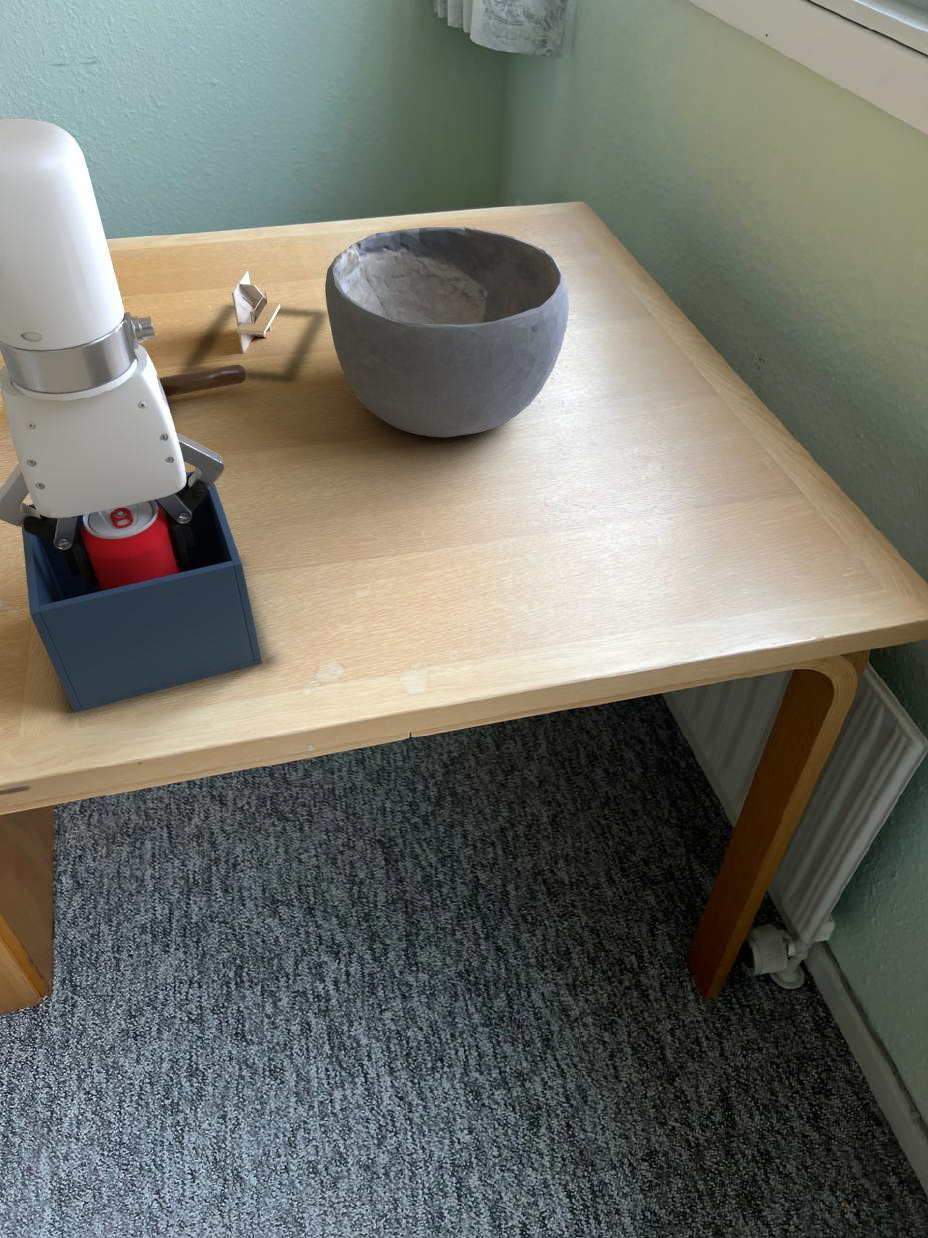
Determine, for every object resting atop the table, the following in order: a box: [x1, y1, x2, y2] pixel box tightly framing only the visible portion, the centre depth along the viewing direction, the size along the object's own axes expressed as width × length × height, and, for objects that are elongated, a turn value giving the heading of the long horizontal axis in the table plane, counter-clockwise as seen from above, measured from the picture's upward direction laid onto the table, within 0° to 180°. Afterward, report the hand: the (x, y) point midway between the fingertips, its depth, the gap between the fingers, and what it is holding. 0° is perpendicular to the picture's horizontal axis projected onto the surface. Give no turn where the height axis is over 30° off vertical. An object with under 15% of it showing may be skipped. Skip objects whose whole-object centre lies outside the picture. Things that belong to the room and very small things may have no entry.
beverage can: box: [81, 500, 183, 591], centre depth 70 cm, size 6×6×12 cm
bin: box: [21, 470, 263, 714], centre depth 71 cm, size 14×12×11 cm
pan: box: [159, 364, 248, 398], centre depth 97 cm, size 20×11×3 cm, turn 112°
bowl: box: [324, 226, 570, 438], centre depth 94 cm, size 24×24×15 cm
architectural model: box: [231, 270, 281, 354], centre depth 105 cm, size 3×7×7 cm, turn 173°
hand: (136, 564), depth 69 cm, fingers closed on beverage can, 6 cm apart
